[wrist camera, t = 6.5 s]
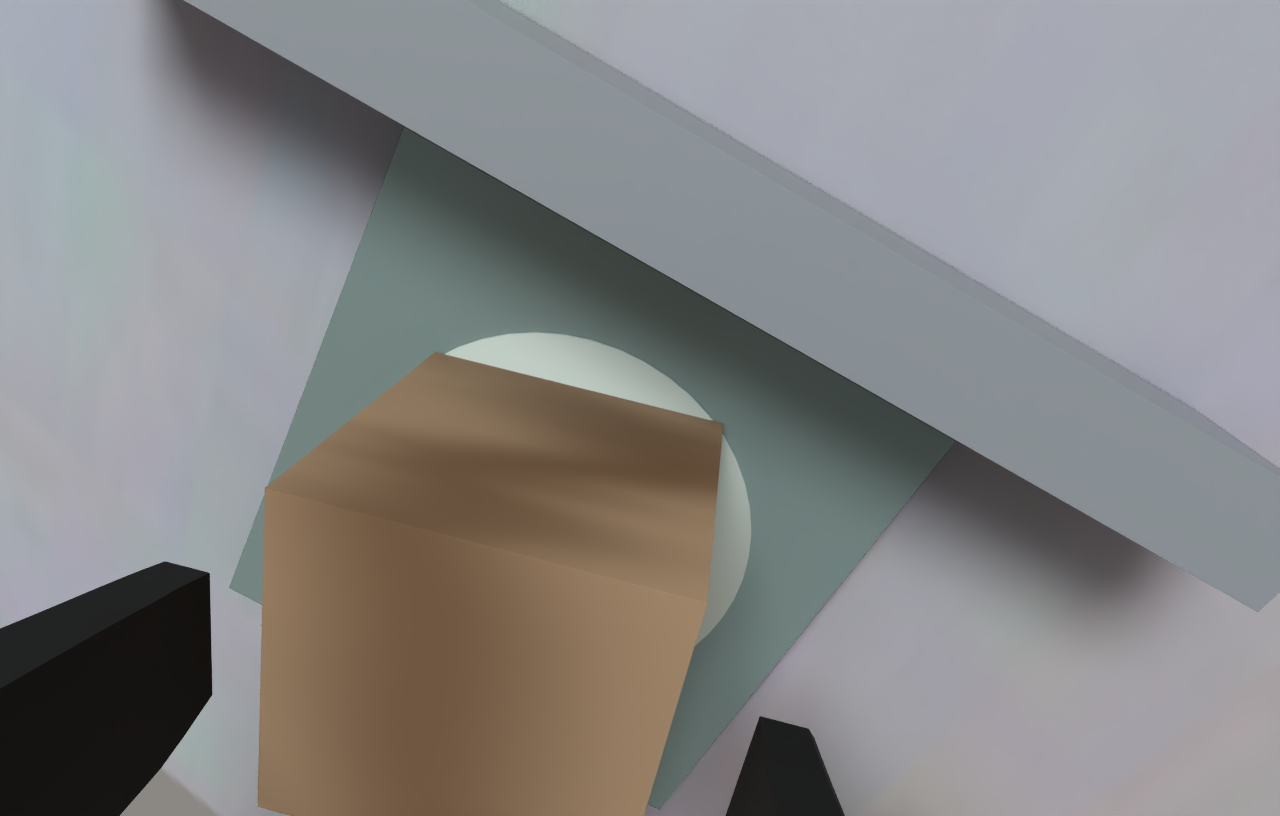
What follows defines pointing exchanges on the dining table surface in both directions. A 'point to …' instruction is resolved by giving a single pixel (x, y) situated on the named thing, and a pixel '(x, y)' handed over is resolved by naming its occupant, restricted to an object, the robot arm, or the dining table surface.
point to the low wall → (796, 267)
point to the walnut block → (483, 600)
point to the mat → (630, 369)
